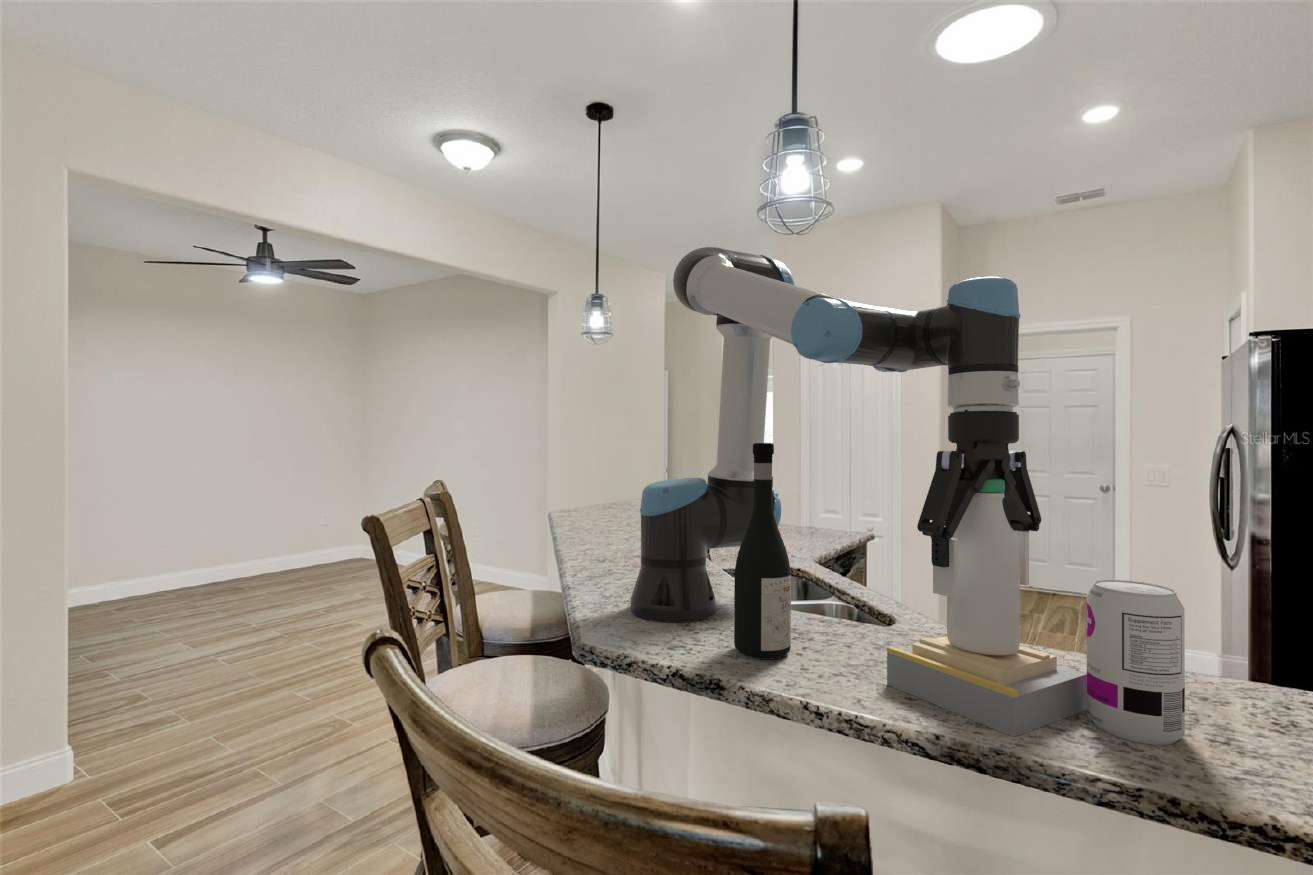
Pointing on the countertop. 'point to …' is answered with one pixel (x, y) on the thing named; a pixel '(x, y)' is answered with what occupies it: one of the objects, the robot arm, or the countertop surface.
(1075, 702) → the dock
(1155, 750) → the countertop surface
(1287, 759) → the countertop surface
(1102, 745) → the countertop surface
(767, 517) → the wine bottle
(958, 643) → the milk bottle
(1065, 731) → the countertop surface
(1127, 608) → the supplement can
